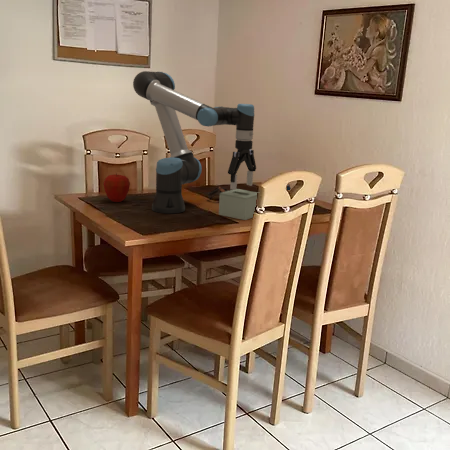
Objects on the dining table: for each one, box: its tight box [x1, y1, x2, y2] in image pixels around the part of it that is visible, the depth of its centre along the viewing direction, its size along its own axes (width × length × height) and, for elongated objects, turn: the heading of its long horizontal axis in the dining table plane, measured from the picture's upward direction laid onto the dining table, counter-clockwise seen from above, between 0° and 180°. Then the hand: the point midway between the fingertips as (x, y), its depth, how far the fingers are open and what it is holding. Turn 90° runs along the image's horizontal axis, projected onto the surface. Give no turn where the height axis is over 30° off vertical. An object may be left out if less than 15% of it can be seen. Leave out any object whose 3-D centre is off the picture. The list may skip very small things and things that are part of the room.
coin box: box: [218, 188, 259, 221], centre depth 241 cm, size 14×14×10 cm
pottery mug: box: [207, 186, 228, 200], centre depth 268 cm, size 12×10×8 cm
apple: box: [103, 172, 131, 203], centre depth 254 cm, size 12×12×14 cm
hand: (241, 187), depth 239 cm, fingers open, 13 cm apart
